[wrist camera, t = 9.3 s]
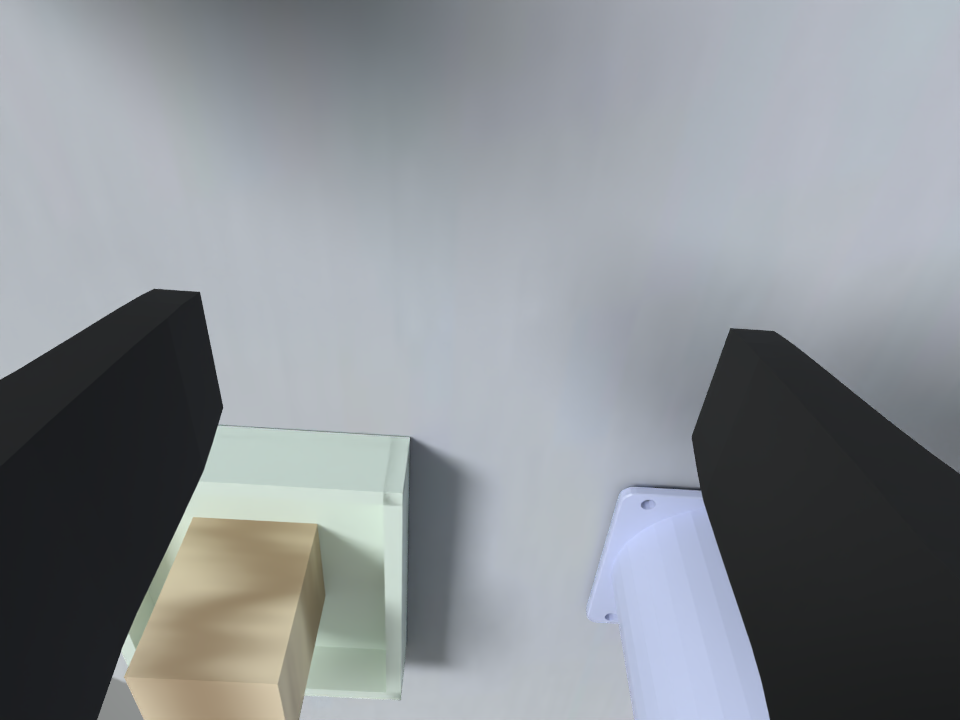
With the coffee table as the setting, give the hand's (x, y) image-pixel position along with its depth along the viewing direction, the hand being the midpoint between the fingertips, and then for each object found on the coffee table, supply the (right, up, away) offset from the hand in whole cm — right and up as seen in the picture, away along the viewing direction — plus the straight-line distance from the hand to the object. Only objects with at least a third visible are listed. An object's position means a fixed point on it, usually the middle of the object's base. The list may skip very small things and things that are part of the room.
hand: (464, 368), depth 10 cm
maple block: (-8, -7, +17) cm, 20 cm away
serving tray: (-8, -7, +18) cm, 21 cm away
